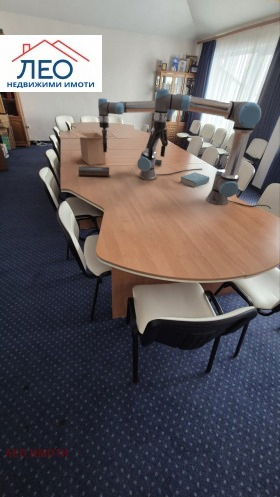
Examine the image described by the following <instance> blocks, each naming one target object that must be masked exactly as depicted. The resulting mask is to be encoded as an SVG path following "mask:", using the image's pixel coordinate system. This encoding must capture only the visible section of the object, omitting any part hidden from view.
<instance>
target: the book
mask: <svg viewBox="0 0 280 497" xmlns="http://www.w3.org/2000/svg"><path fill="white" fill-rule="evenodd" d="M208 182H210V176H208V175H205V174H201V173H198V172H197V171H196V172H195V171H194V172H191V173H189V174H186V175H182V176H180V181H179V183H180V184H183V185H186V186H188V187H191V188H196V187H198V186H201V185H203V184H207V183H208Z"/></svg>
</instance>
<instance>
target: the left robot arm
mask: <svg viewBox="0 0 280 497" xmlns="http://www.w3.org/2000/svg"><path fill="white" fill-rule="evenodd" d="M97 105H98V106H97V108H98V117H97V118H98V119H99V120H98V121H99V128H102V129H101V132H102V136H103V143H102V144H103V152H105V153H107V152H108V150H107V149H108V137H107V134H108V128H110V123H109V122H110V117H109V114H111V115H118V116H119V115H124V114H127V113H128V114H134V113H154V112H155V100H138V101H137V100H136V101H135V100H133V101H117V102H113V101H112V102H111V101H109V99H108V98H105V97H103V98H98V102H97ZM175 112H176V110H168V111H167V120H166V121H165V122H166V125H168V123H170V122H171V119H172V117H173V114H174V113H175ZM154 130H155V129H154V128H153V127H152V129H151V131H154ZM160 142H161V140H160V138H159V139H158V140H156V142H155V144H154V146H153V148H152V149H153V156H152V161H151V160H148V151H149V149H148V148H146V146H147V144H146V145H145V148H144V150H142V151H141V154H140V156H139V158H138V159H137V168H138V169H139V170H140V172H139V178H140V179H142V180H146V181H154V180H156V178H157V176H169V175H174V174H177V173H182V172H187V171H194V170H195V171H200V170H201V168H192V169H184V170H179V171H175V172H172V173H158V174H157V173H156V169H155V167H156V165H155V160H156V158H157V152H156V151H157V149H158V146H159V144H160ZM146 143H148V141H147V142H146Z"/></svg>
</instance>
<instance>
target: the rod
mask: <svg viewBox="0 0 280 497" xmlns="http://www.w3.org/2000/svg"><path fill="white" fill-rule="evenodd" d="M77 169H78V176H79V177H110V167H109V166H79V165H78V168H77Z"/></svg>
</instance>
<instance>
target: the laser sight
mask: <svg viewBox="0 0 280 497" xmlns="http://www.w3.org/2000/svg"><path fill="white" fill-rule="evenodd" d="M162 164H163V160H162V159H158V158H157V159H156V160H155V166H162Z"/></svg>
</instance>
